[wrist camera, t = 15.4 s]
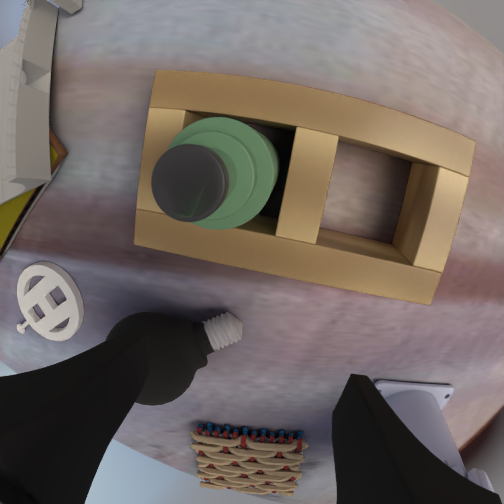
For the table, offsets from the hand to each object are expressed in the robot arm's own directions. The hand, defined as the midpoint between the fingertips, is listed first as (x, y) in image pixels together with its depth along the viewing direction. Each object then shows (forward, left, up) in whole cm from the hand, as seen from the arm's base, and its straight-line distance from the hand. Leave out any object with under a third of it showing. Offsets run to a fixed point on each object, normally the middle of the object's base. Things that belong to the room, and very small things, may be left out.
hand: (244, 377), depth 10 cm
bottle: (+6, +3, -10) cm, 12 cm away
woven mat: (-20, -2, -8) cm, 22 cm away
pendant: (-8, +19, -9) cm, 22 cm away
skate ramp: (+9, +21, -9) cm, 24 cm away
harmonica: (+1, +21, -8) cm, 22 cm away
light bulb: (-6, +6, -11) cm, 13 cm away
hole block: (+6, -1, -10) cm, 12 cm away
